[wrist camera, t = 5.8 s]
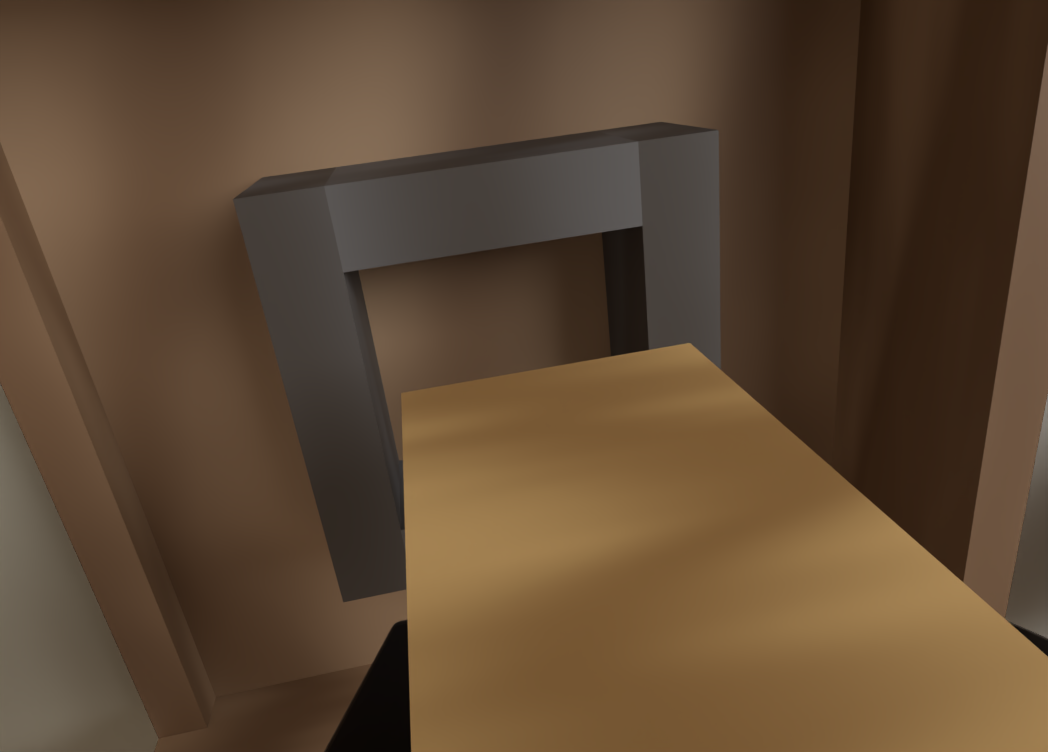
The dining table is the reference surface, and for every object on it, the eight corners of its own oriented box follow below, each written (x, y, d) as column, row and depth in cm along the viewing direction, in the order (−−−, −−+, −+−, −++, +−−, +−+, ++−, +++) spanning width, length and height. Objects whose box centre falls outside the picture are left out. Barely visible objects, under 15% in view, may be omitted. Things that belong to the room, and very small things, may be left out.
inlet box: (898, -210, 15) (1195, -380, 9) (842, 568, 23) (985, 721, 17) (-147, -116, 13) (-555, -269, 7) (192, 710, 21) (120, 938, 15)
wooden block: (689, 342, 10) (1518, 1069, 3) (696, 575, 11) (1222, 1431, 4) (401, 392, 9) (432, 1427, 2) (448, 627, 11) (558, 1685, 4)
